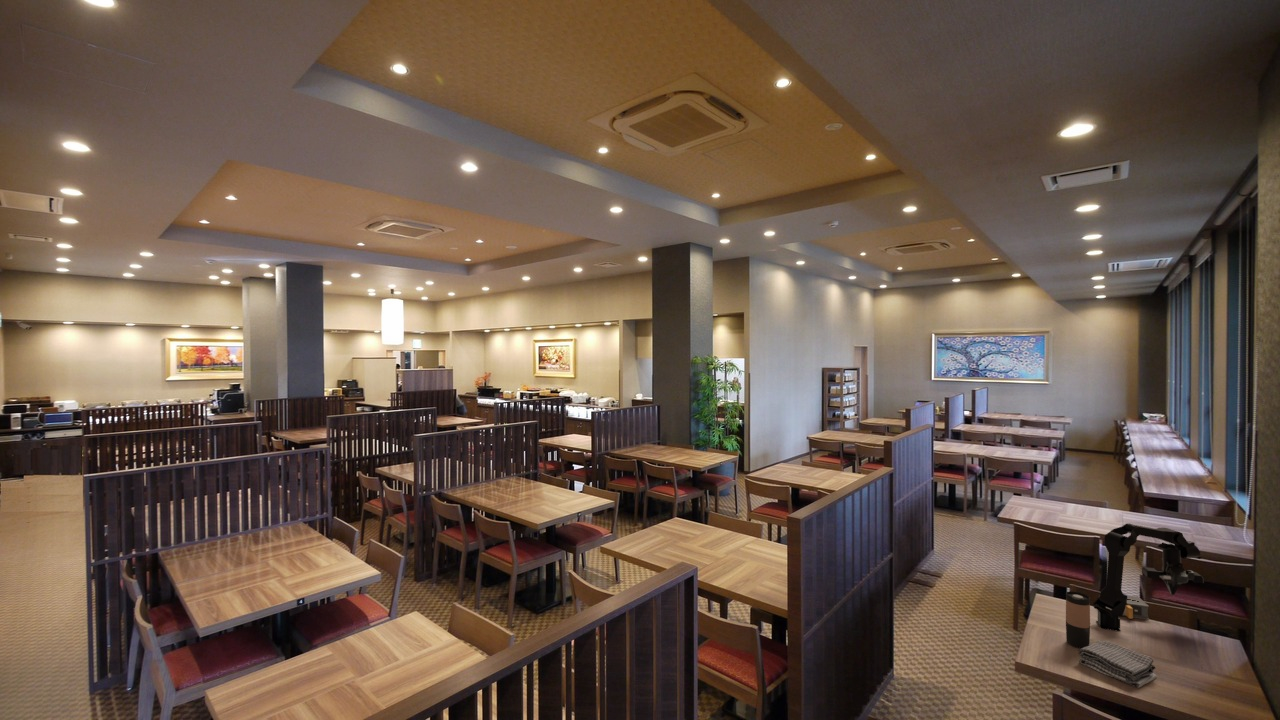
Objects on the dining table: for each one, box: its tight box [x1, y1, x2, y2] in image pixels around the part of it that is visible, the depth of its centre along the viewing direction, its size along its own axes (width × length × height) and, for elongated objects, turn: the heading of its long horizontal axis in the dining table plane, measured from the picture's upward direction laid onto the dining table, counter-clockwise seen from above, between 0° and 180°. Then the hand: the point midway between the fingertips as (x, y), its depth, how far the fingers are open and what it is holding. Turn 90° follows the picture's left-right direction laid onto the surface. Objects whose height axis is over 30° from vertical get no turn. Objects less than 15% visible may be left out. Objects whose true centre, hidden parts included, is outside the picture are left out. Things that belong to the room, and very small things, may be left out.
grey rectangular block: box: [1106, 604, 1134, 620], centre depth 242 cm, size 8×4×5 cm, turn 67°
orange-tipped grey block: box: [1098, 591, 1150, 620], centre depth 247 cm, size 15×10×7 cm, turn 67°
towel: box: [1078, 640, 1158, 689], centre depth 200 cm, size 15×18×8 cm
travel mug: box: [1065, 590, 1091, 650], centre depth 219 cm, size 8×8×20 cm
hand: (1172, 594), depth 236 cm, fingers closed
